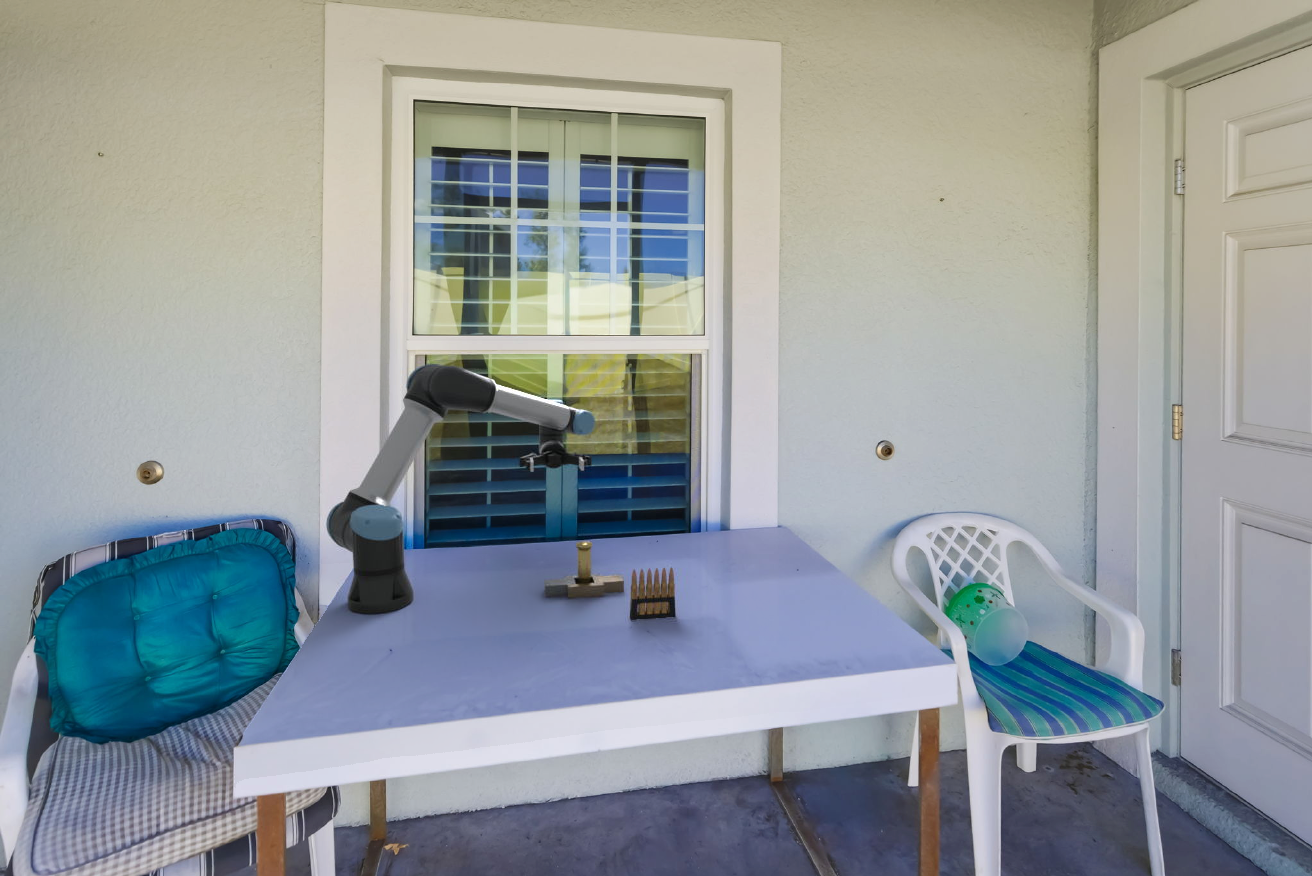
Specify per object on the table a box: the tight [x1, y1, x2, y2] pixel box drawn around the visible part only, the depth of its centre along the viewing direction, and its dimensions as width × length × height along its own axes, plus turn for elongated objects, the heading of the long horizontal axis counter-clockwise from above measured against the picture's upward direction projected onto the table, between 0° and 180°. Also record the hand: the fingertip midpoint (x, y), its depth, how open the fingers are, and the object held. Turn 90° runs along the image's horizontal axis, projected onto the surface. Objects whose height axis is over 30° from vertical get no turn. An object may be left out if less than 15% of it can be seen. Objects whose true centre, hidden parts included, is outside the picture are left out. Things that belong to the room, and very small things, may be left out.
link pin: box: [575, 540, 593, 584], centre depth 180 cm, size 4×4×13 cm
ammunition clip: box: [629, 566, 677, 621], centre depth 163 cm, size 11×2×12 cm, turn 100°
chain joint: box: [544, 573, 625, 600], centre depth 180 cm, size 20×9×3 cm, turn 102°
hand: (557, 466), depth 189 cm, fingers open, 13 cm apart
